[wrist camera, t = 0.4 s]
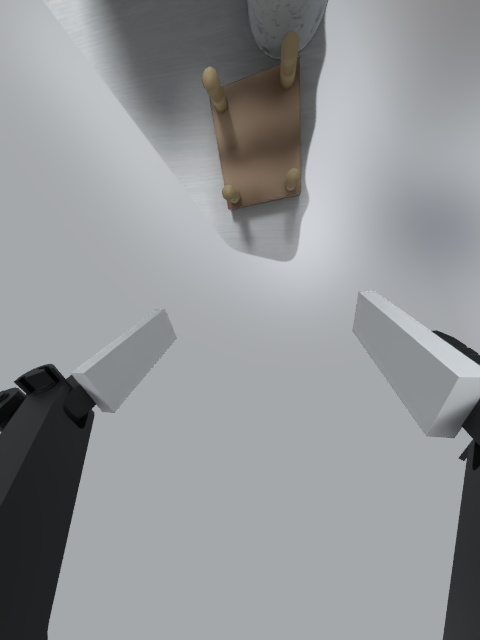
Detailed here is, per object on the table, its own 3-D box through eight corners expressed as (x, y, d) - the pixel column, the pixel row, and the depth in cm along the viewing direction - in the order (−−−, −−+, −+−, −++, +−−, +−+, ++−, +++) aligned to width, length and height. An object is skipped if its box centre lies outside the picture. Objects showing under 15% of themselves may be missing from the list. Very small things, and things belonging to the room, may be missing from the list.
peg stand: (213, 100, 26) (194, 64, 20) (297, 68, 23) (305, 15, 17) (231, 209, 32) (220, 207, 26) (299, 195, 30) (305, 187, 24)
